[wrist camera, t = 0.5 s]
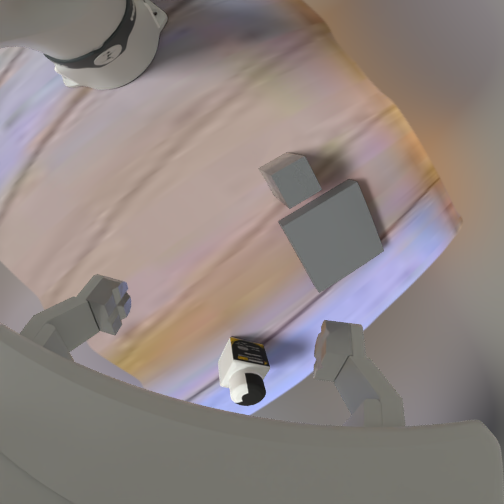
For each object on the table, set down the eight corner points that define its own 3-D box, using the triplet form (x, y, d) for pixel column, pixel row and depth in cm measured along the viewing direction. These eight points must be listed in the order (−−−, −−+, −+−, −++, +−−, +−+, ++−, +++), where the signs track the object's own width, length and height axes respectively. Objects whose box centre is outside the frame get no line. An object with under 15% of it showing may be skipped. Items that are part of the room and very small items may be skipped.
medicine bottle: (263, 343, 56) (277, 387, 45) (249, 368, 58) (259, 412, 47) (229, 335, 54) (236, 380, 43) (217, 361, 56) (221, 406, 45)
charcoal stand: (278, 221, 47) (282, 226, 44) (348, 179, 46) (357, 181, 43) (313, 284, 53) (319, 292, 50) (375, 245, 52) (384, 250, 49)
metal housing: (258, 168, 44) (270, 175, 35) (286, 152, 43) (304, 156, 35) (274, 195, 46) (289, 208, 37) (301, 179, 45) (322, 189, 37)
